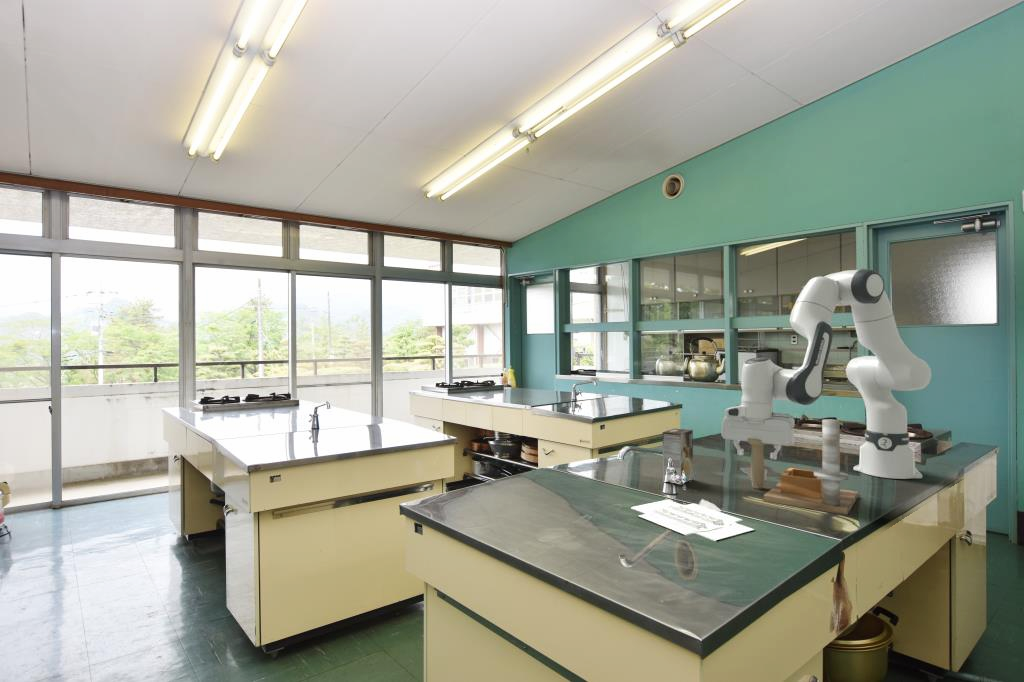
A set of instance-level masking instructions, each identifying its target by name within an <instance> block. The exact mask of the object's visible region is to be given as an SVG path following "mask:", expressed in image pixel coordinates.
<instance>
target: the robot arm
mask: <svg viewBox="0 0 1024 682" xmlns="http://www.w3.org/2000/svg"><path fill="white" fill-rule="evenodd" d="M890 301H891V300H890V299H889V296H888V294H887V293H886V290H885V280H884V278H883V277H882V275H881V274H880V273H879V272H878V271H876V270H875V269H867V268H861V269H849V270H841V271H838V272H833V273H826V274H822V275H820V276H815V277H812V278H811V279H809V280H808V281H807V283H806V284H805V286H804V287H803V288H802V290H801V291H800V293H799V294H798V297H797V299H796V301H795V303H794V304H793V306H792V309H791V311H790V315H789V323H790V326H791V328H792V329H793V331H794V332H796V334H798V335H800V336H801V337H803V338H805V339H807V342H808V344H807V348H806V352H805V355H804V359H803V362H802V365H801V366H800V367H799V368H797V369H793V368H792V369H789V368H783V367H781V366H779V365H777V364H776V363H774V362H773V361H772V359H771V358H768V357H754V358H749V359H747V360H746V361H744V362H743V365H742V369H741V377H740V380H741V381H740V386H741V387H740V388H741V390H742V394H741V395H742V396H741V398H740V405H739V404H738V405H735V406H731V407H728V408H726V409H724V415H725V416H724V418H723V419H722V422H721V433H720V434H721V437H722V438H723V439H725V440H732V442H733V445H734V447H735V449H736V452H737V453H736V455H738V456H744V454H745V452H744V451H745V449H744V448H741V446H740V443H741V442H748V439H757V440H762V443H766V444H765V445H767V444H768V445H773V448H774V449H775V450H774V451H773V452H770V453H769V456H770V457H769V459H770V460H775V461H776V460H777V459H778V458H777V457H778V452H779V451H780V450H781V449H782V446H785V447H790V446H792V445H793V444H794V443H795V432H794V428H795V426H796V425H795V422H796V421H795V418H794V417H793V416H792V415H790V414H789V413H780V412H774V400H779V401H785V402H791V403H795V404H799V405H804V406H809V405H812V404H814V403H815V402H816V401H817V400H818V399H819V398H820V397H821V395H822V393H823V388H824V375H825V372H826V371H825V370H826V367H827V363H828V360H829V355H830V351H831V346H832V342H833V338H834V331H833V328H832V326H831V320H832V317H833V315H834V312H835V310H836V307H837V306H838V307H844V306H845V307H847V306H850V307H851V314H852V321H853V323H854V328H855V332H856V335H857V341H858V343H859V344H860V345H861V346H862V347H864V348H865V349H867V350H869V351H870V352H871V353H872V354H873V355H863V356H859V357H854V358H852V359H850V360H849V361H848V363H847V365H846V369H845V374H846V378H847V381H849V382H850V383H851V384H853V386H855V388H856V389H857V390H858V391H859V393H860V395H861V397H862V399H863V403H864V406H865V414H866V416H865V417H866V429H865V433H864V437H865V438H864V440H865V442H864V443H863V444H862V445H860V446H859V463H858V464H857V465H854V466H853V471H857V472H859V473H863V474H865V475H869V476H872V477H878V478H879V477H880V478H886V479H894V480H895V479H897V480H898V479H899V480H902V479H903V480H906V479H908V480H909V479H923V478H924V477H923V474H922V473H921V472H920V471H919V470H918V468H916V465H917V463H916V461H915V451H914V450H913V449H912V448H911V447H910V446H909V444H910V435H909V434H910V433H909V432H908V411H907V408H906V406H904V405H903V404H902V403H901V402H899V401H898V400H897V399H896V398H895V396H894V395H893V393H892V391H903V392H908V391H909V392H912V391H918V390H923V389H924V388H926V387H927V386H928V385H929V383H931V382H930V381H931V380H932V379H931V378H932V370H931V367H930V365H929V364H928V363H927V362H926V360H924V359H921V358H920V357H918V356H917V355H916V354H914V352H912V351H911V350H910V349H909V347H907V345H906V343H904V341H903V339H902V338H901V336H900V333H899V330H898V326H897V323H896V320H895V316H894V312H893V311H894V310H893V307H892V304H891V302H890Z"/></svg>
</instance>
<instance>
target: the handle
mask: <svg viewBox="0 0 1024 682" xmlns="http://www.w3.org/2000/svg"><path fill="white" fill-rule="evenodd" d="M747 443H748V444H750V446H751V451H750V454H751V455H750V479H751V480H750V481H751V487H752V488H753V489H757V490H759V489H763V488H764V483H765V457H764V455H765V453H764V446H766V445H767V444H766V443H762V440H757V439H748V441H747Z"/></svg>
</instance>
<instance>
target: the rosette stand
mask: <svg viewBox="0 0 1024 682" xmlns="http://www.w3.org/2000/svg"><path fill="white" fill-rule="evenodd" d="M840 421H841V420H838V419H830V418H829V419H827V418H824V419H822V420H821V430H822V431H821V440H822V441H821V442H822V443H821V454H822V455H821V457H822V459H821V460H822V461H821V462H822V463H821V466H822V467H821V469H818V470H809V469H803V468H795V467H789V468H787V469H786V470H785V471H783V472H782V473H781V474H780V481H779V482H777V484H775V485H774V486H772V488H771V489H770V490H768V491H767V492H765V494H763V502H768V503H774V504H780V505H786V506H791V507H797V508H803V509H811V510H815V511H820V512H821V511H822V512H827V513H833V514H839V515H844V516H848V514H849V513H850V511H851V510H852V507H853V506H854V504H855V502H856V501H857V499H858V495H859V494H858V493H859V492H858V491H856V490H848V489H841V481H848V480H849V479H850V475H849V474H848V473H845V472H843V471H841V468H840V467H841V456H840V455H841V454H840V453H841V451H840V449H841V447H840V443H841V440H840V439H841V438H840V437H841V436H840V435H841V433H840V432H841V431H840V430H841V428H840V426H841V425H840V424H841V423H840Z"/></svg>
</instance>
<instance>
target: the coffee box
mask: <svg viewBox="0 0 1024 682" xmlns="http://www.w3.org/2000/svg"><path fill="white" fill-rule="evenodd" d="M693 431H694V430H693V429H685V428H672V429H668V430H665V431H662V482H663V483H665V482H664V480H665V475H666V469H667V466H668V459H669V458H671V459H672V461H673V466H674V469H675V473H676V475H679V476H681V475H682V471H683V470H684V472H685V476H686V477H687V478H688V479H690V480H691V481H692V480H694V446H693V445H694V442H693V441H694V440H693V436H694V433H693Z"/></svg>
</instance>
